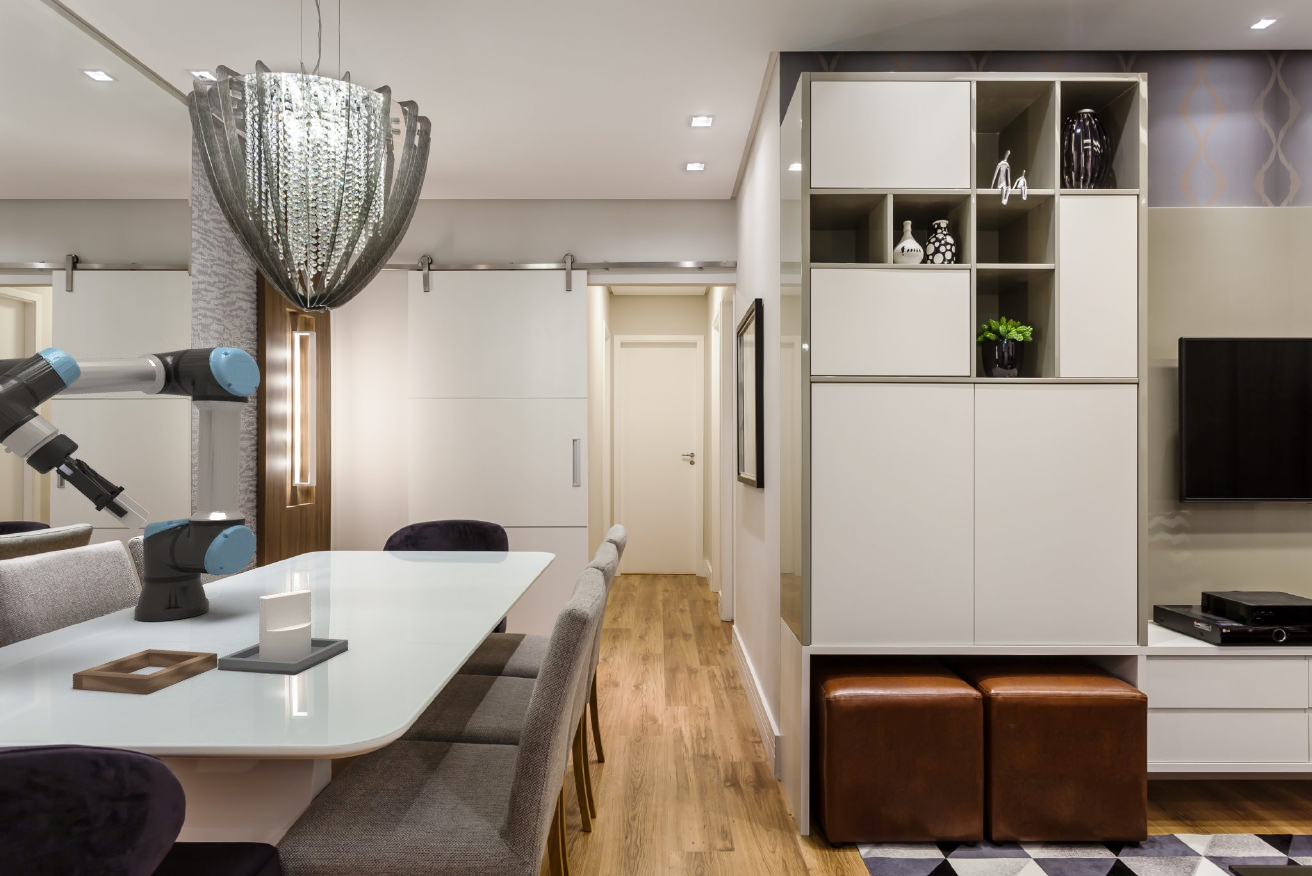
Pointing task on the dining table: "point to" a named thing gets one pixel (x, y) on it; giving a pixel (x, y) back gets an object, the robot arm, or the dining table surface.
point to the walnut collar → (120, 679)
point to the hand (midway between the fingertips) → (143, 522)
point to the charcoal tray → (252, 663)
